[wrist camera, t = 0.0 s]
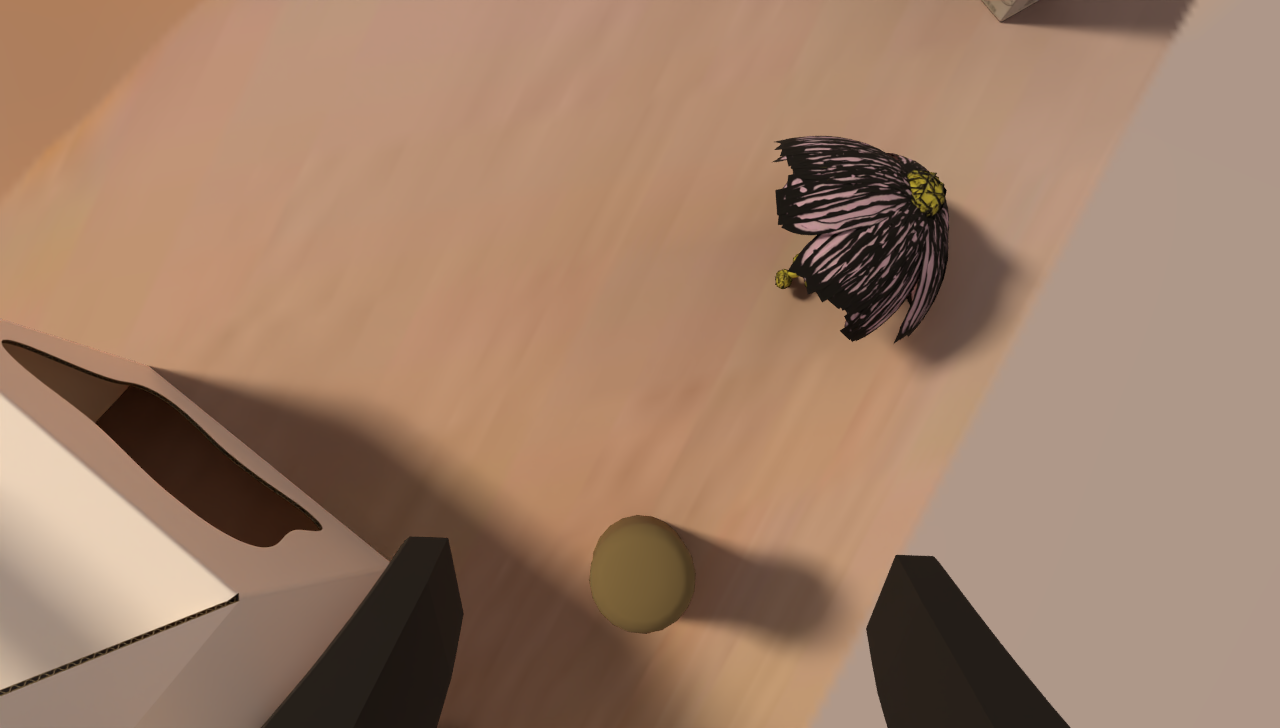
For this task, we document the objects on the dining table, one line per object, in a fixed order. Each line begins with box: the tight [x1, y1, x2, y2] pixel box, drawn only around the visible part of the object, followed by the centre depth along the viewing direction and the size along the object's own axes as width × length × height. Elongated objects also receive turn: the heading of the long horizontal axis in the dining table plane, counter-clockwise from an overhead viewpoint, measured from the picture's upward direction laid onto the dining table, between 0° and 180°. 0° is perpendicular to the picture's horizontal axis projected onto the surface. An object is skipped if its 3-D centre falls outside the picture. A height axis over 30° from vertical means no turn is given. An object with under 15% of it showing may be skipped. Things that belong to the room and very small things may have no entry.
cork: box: [589, 515, 696, 634], centre depth 37 cm, size 6×6×11 cm
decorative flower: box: [773, 136, 949, 343], centre depth 43 cm, size 15×12×15 cm
